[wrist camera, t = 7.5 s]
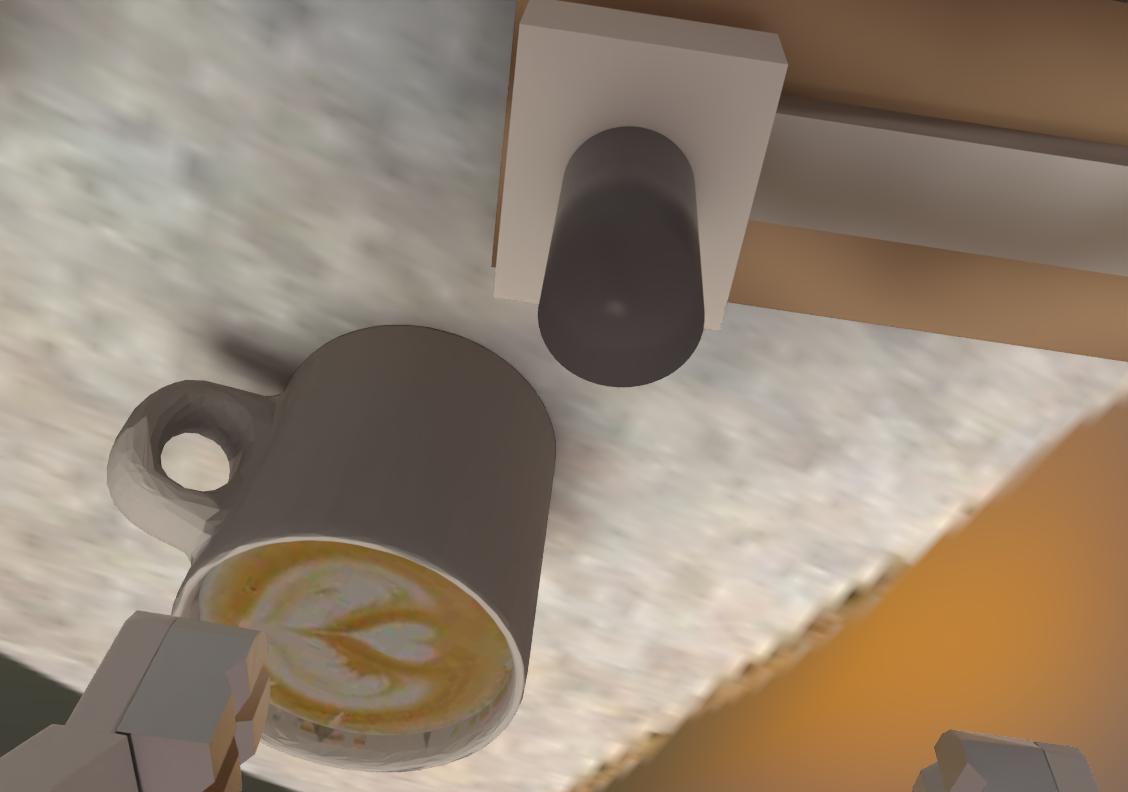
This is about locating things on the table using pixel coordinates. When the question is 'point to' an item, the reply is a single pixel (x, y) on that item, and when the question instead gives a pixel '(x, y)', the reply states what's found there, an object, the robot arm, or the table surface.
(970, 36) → the rail bench
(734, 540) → the table surface
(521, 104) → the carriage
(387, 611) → the coffee mug
